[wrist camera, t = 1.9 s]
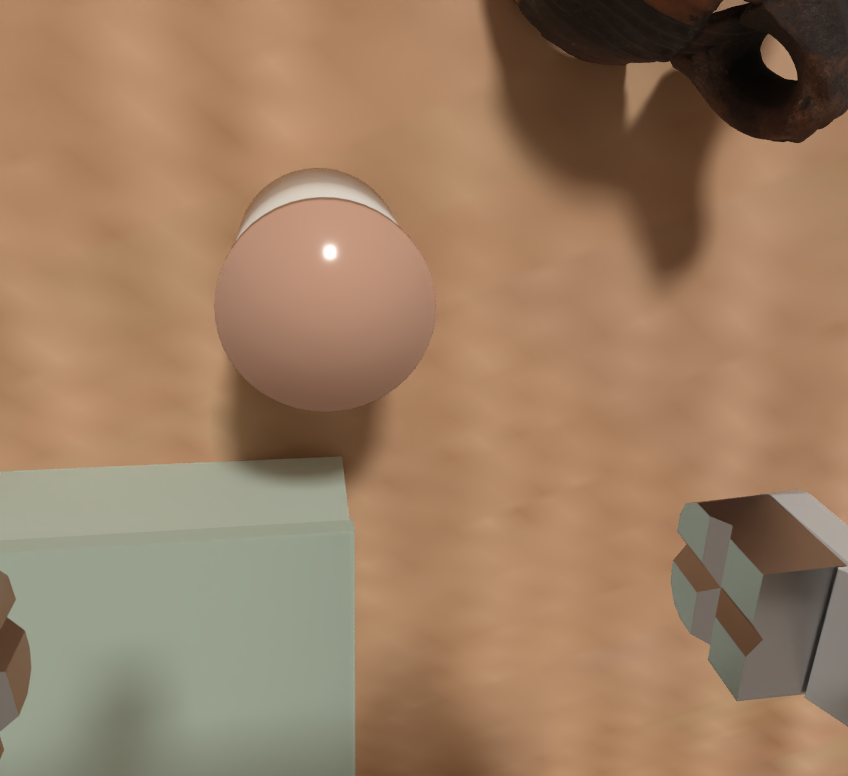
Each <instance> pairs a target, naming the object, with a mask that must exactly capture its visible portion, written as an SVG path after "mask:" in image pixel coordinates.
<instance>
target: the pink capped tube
mask: <svg viewBox="0 0 848 776" xmlns="http://www.w3.org/2000/svg"><path fill="white" fill-rule="evenodd" d="M214 308H215V321H216V326H217V331H218V335H219V338H220V340H221V343H222V346H223V348H224V350H225V352H226V354H227V356H228V358H229V360H230V361H231V362H232V364H233V365H234V367H235V368H236V370H237V371H238V372H239V373H240V374H241V375H242V376H243V377H244V379H245V380H246V381H247V382H249V383H250V384H251V385H252V386H253V387H255V388H256V389H257V390H258V391H260V392H262V393H263V394H265V395H266V396H268V397H269V398H272V399H274V400H276V401H278V402H280V403H282V404H285V405H288V406H291V407H294V408H298V409H303V410H307V411H317V412H335V411H343V410H349V409H353V408H357V407H361V406H363V405H366V404H368V403H371V402H374V401H376V400H377V399H379V398H381V397H383V396H385V395H386V394H388V393H389V392H391V391H392V390H394V389H395V388H396V387H398V386H399V385H400V384H401V383H402V382H403V381H404V380H405V379H406V378H407V377H408V376H409V375H410V374H411V373H412V372H413V370H414V369H415V368H416V366H417V365H418V363H419V362H420V360H421V359H422V357H423V355H424V353H425V351H426V349H427V347H428V345H429V342H430V339H431V336H432V333H433V329H434V324H435V316H436V299H435V290H434V286H433V281H432V278H431V275H430V272H429V269H428V267H427V265H426V263H425V261H424V259H423V257H422V255H421V253H420V252H419V250H418V248H417V247H416V246H415V244H414V243H413V241H412V240H411V239H410V237H409V236H408V235H407V234H406V233H405V232H404V231H403V230H402V228H401V227H400V226H399V224H398V223H397V221H396V219H395V218H394V216H393V214H392V212H391V211H390V209H389V207H388V206H387V205H386V203H385V202H384V200H383V199H382V198H381V197H380V196H379V195H378V194H377V193H376V191H374V190H373V189H372V188H371V187H370V186H368V185H367V184H366V183H364V182H363V181H361V180H359V179H358V178H356V177H354V176H351V175H349V174H347V173H344V172H340V171H337V170H331V169H324V168H312V169H303V170H299V171H294V172H291V173H289V174H286V175H284V176H281V177H280V178H278V179H276V180H274V181H273V182H271V183H270V184H269V185H267V186H266V187H265V188H263V189H262V190H261V191H260V192H259V193H258V194H257V195H256V197H255V198H254V199H253V201H252V202H251V203H250V205H249V207H248V209H247V210H246V212H245V214H244V217H243V219H242V222H241V225H240V228H239V231H238V234H237V237H236V240H235V243H234V244H233V246H232V248H231V250H230V251H229V253H228V255H227V257H226V259H225V262H224V264H223V267H222V269H221V272H220V275H219V278H218V283H217V287H216V292H215V304H214Z"/></svg>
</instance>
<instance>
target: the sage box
mask: <svg viewBox="0 0 848 776" xmlns="http://www.w3.org/2000/svg"><path fill="white" fill-rule="evenodd" d="M0 571H2V572H3V573H5V574H6V575H8V577H9V580H10V583H11V586H12V589H13V592H14V595H15V598H16V601H15V602H14V604H13V606H12V608H11V610H10V612H9V614H8V616H7V617H8V618H9V619H10V620H12V621H13V622H14V623H16V624H17V625H18V626H20V627H21V628H22V629H24V630H25V632H26V636H27V639H28V643H29V647H30V656H31V675H30V682H29V688H28V695H27V697H26V700H25V702H24V705H23V707H22V710H21V712H20V715H19V716H18V717H17V718H16V719H15V720H13V721H12V722H11V723H10V724H9V725H8V726H6V727H5V728H4V729H3V730H2V731H0V738H1V741H2V744H3V747H4V752H3V754H2V756H1V759H0V776H355V556H354V524H353V520H349V512H348V504H347V495H346V486H345V477H344V469H343V460H342V456H337V457H315V458H293V459H270V460H248V461H226V462H204V463H182V464H159V465H137V466H115V467H93V468H70V469H48V470H26V471H4V472H0Z"/></svg>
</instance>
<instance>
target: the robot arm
mask: <svg viewBox="0 0 848 776" xmlns="http://www.w3.org/2000/svg"><path fill="white" fill-rule="evenodd" d="M678 533H679V534H680V536H681V537H682V539H683V540H684V541H685V543H686V544H687V545H686V546H685V547H684V548H683V549H682V550H681V552H680V553H679V554H678V555H677V556H676V557H675V559H674V560H673V566H672V575H671V587H672V593H673V599H674V604H675V607H676V609H677V612H678V614H679V616H680V619H681V620H682V622H683V624H684V625H685V627H686V628H687V630H688V631H689V633H690V634H692V635H694V636H695V637H697V638H699V639H701V640H703V641H704V642H706V643H708V644H710V651H709V656H708V661H709V662H710V663H711V665H712V666H713V668H714V669H715V671H716V672H717V673H718V675H719V676H720V678H721V679H722V681H723V682H724V684H725V685H726V686H727V688H728V689H729V691H730V692H731V694H732V695H733V697H734V698H735V699H736V701H744V700H753V699H763V698H772V697H781V696H791V695H800V694H805V698H806V699H808V700H809V701H811V702H812V703H813V704H815V705H816V706H818V707H819V708H821V709H822V710H824V711H825V712H827V713H828V714H830V715H831V716H833V717H834V718H836V719H837V720H839V721H840V722H842V723H843V724H845V725H846V726H848V525H846V524H845V523H844V522H843V521H842V520H840V519H839V518H838V517H837V516H836V515H834V514H833V513H832V512H831V511H830V510H828V509H827V508H826V507H825V506H824V505H822V504H821V503H820V502H819V501H818V500H816V499H815V498H814V497H813V496H812V495H810V494H809V493H807V492H804V491H801V490H798V489H795V490H787V491H780V492H772V493H764V494H760V495H755V496H746V497H737V498H728V499H720V500H711V501H702V502H693V503H686V504H685V506H684V508H683V510H682V512H681V514H680V519H679V525H678ZM15 601H16V598H15V595H14V592H13V589H12V586H11V583H10V580H9V577H8V575H6V574H5V573H3V572H2V571H0V731H2V730H3V729H4V728H5V727H6V726H8V725H9V724H10V723H11V722H12V721H13V720H15V719H16V718H17V717H18V716H19V715H20V712H21V710H22V707H23V705H24V702H25V700H26V697H27V695H28V688H29V682H30V675H31V656H30V647H29V643H28V639H27V636H26V632H25V630H24V629H22V628H21V627H20V626H18V625H17V624H16V623H14V622H13V621H12V620H10V619H9V618H8V617H7V616H8V614H9V612H10V610H11V608H12V606H13V604H14V602H15ZM3 752H4V747H3V744H2V741H1V738H0V759H1V756H2V754H3Z"/></svg>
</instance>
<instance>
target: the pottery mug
mask: <svg viewBox="0 0 848 776" xmlns="http://www.w3.org/2000/svg"><path fill="white" fill-rule="evenodd" d="M514 1H515V2H516V3H517V4H518V5H519V8H520V10H521V12H522V13H523V14H524V16H525V17H526V18H527V19H528V20H529V21H530V22H531V24H533V25H534V26H535V27H536V28H537V29H538V30H539V32H540V33H541V34H542V36H543V37H545V38H546V39H547V40H549V41H550V42H552V43H553V44H555V45H556V46H558V47H559V48H561V49H562V50H563V51H565V52H566V53H568V54H569V55H572V56H574V57H576V58H578V59H580V60H583V61H587V62H593V63H600V64H606V65H607V64H609V65H624V64H628V63H650V62H656V61H659V62H668V61H670V62H671V64H672V66H673V68H675V69H677V70H679V71H681V72H682V73H683V74H685V75H686V76H687V77H688V78H689V79H690V80H691V82H692V83H693V84H694V85H695V86H696V88H697V89H698V91H699V92H700V93H701V94H702V96H703V97H704V98H705V100H706V101H707V103H708V104H709V106H710V107H711V108H712V109H713V110H714V111H715V112H716V113H717V114H718V115H719V116H720V117H721V118H722V119H723V120H724V121H725V122H726V123H728V124H729V125H730V126H731V127H733V128H735V129H736V130H738V131H740V132H742V133H744V134H746V135H749V136H751V137H754V138H759V139H766V140H771V141H777V142H786V141H789V142H794V143H800V142H803V141H804V140H805V139H806V138H808V137H809V136H811V135H812V134H813V133H814V132H815V131H816V130H817V129H822V128H824V127H826V126H827V125H829V124H830V123H831V122H832V121H833V120H834V119H835V118H837V117H839V116H841V115H842V114H844V113H845V112H846V111H847V110H848V0H744V1H746V2H750V3H747V4H744V5H739V6H735V7H731V8H728V9H726V10H723V11H719V12H715V13H713V12H714V11H715V10H716V9H717V8H718V6H719V5H720V3H721V2H722V1H723V0H514ZM767 34H770V35H772V36H773V37H774V38H775V39H777V40H778V41H779V42H780V43H781V44H782V45H783V46H784V47H785V49H786V50H787V51H788V52H789V54H790V56H791V58H792V60H793V62H794V64H795V68H796V70H797V76H798V81H795V80H788V79H784V78H782V77H780V76H779V75H777V74H775V73H774V72H772V71H771V70H770V69H769V68H767V67H766V65H765V64H764V62H763V61H762V57H761V52H760V47H761V44H762V42H763V40H764V38H765V37H766V35H767Z"/></svg>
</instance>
